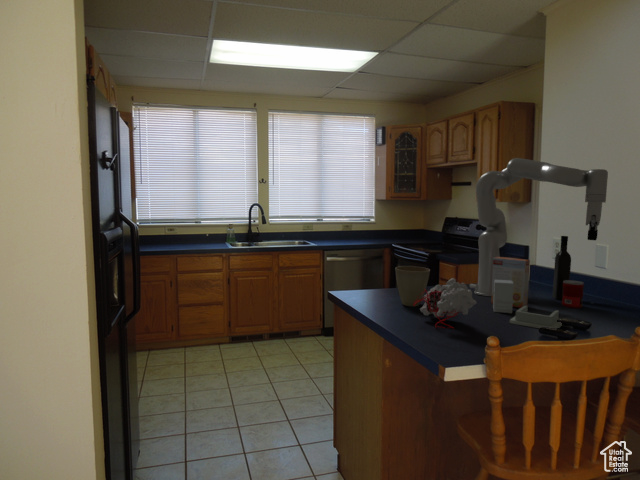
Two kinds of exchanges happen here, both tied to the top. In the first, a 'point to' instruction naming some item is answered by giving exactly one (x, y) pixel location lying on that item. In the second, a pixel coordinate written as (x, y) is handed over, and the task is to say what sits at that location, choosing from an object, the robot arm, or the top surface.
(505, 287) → the supplement box
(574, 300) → the canned food
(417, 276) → the plant pot
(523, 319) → the tray
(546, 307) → the top surface
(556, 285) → the wine bottle
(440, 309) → the molecular structure model
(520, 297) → the cracker box
